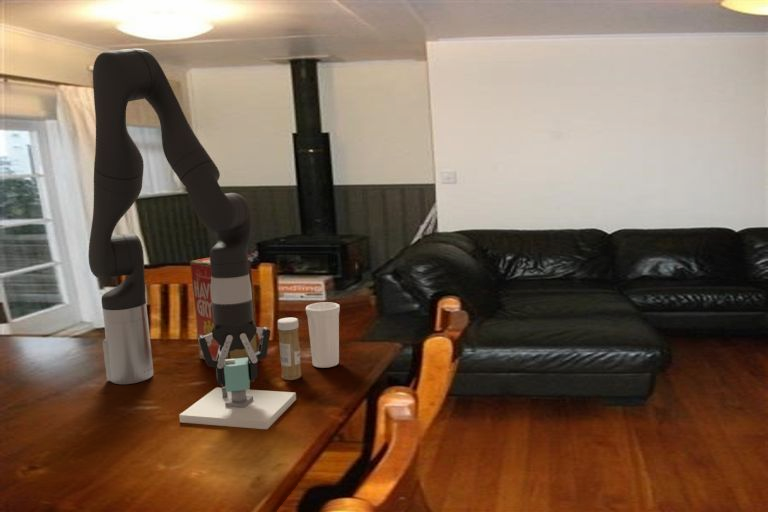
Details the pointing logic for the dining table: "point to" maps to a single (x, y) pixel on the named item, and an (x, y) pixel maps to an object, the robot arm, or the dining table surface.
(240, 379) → the mint cube with tab
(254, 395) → the stud board
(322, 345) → the cup
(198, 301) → the food packaging
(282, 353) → the sprinkles bottle
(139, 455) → the dining table surface
